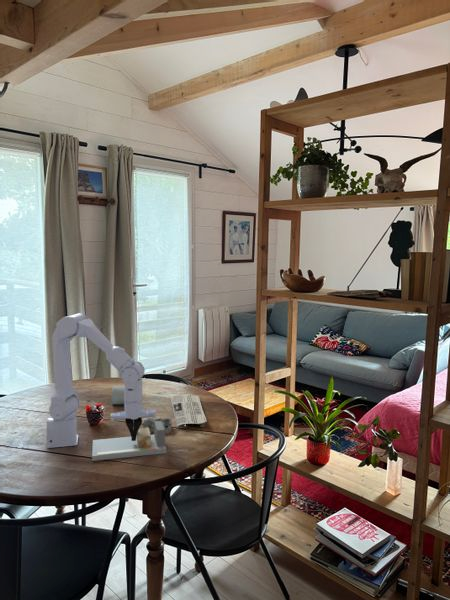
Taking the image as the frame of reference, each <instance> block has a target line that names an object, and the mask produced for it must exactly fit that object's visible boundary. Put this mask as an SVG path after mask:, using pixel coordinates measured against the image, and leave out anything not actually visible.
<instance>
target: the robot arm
mask: <svg viewBox="0 0 450 600" xmlns="http://www.w3.org/2000/svg"><path fill="white" fill-rule="evenodd" d="M93 321H94V320H92V319H91V318H89V317H88V315H86V313H83V312H78V313H77V312H76V313H75V314H71V315H68V316H63V317H61V318H60V319H59V320H58V321H57V322H56V323H55V324H56V327H55V329H54V332H53V334H52V336H51V345H52V346H51V347H52V348H51V349H52V359H53V374H54V392H53V393H52V396H51V398H50V406H49V407H48V414H49V415H50V416H51V417H48V418H47V420H46V449H53V448H65V447H72V446H73V447H75V446H78V442H79V434H77V410H78V409H79V407H80V405H81V403H80V398H79V397H78V394H77V390H76V389H75V388H74V386H73V376H72V374H73V373H72V360H71V359H72V358H71V344H70V342H71V341H72V340H73V339H74V338H75V337H77V338H87V339H89V340H90V341H91V342H92V343H93V344H94V345H95V346H96V347H98V348H99V349H100V350H102V352H103V353H104V354H105V358H106V360H107V361H108V363H110V364H111V366H113V367H114V368H115V369H116V370H117V371H118V372H119V373H120V377H121V380H122V381H123V382H124V386H123V387H124V399H125V404H124V411H120V412H119V411H118V412H112V413H110V422H115V421H120V420H121V421H124V420H125V425H126V426H127V429H128V431H129V433H130V437H131V440H132V441H136V436H137V432H138V430H139V428H141V425H142V424H143V419H147V418H153V419H156V418H157V411H156V410H155V409H154V410H153V409H152V410H151V409H150V410H148V409H143V376H144V374H145V366H144V365H143V364H142V363H141V362H140V361H136V359H134V358H132V357H131V356H130V355H128V353H127V352H126V349H125V348H124V347H120V346H118V345H117V346H116V345H115V346H114V345H113V343H112V342H110V340H109V339H108V338H107V336H105V335H104V334H103V332H101V330H99V328H98V327H97V326H96V325H95V323H94V322H93Z"/></svg>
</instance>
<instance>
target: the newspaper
mask: <svg viewBox="0 0 450 600" xmlns="http://www.w3.org/2000/svg"><path fill="white" fill-rule="evenodd" d="M169 399H170V402H171V407H173V408H172V411H173V416H174V420H175V425H176V428H177V430H178V429H185V428H188V424H189V425H190V424H192V425H194V424H196V425H199V427H200V428H204V427H205V426H206V422H208V420H207V417H206V415H205V413H204V410H203V407H202V403H201V399H200V396H199V395H194V394H192V393H190V394H189V393H188V394H187V393H184V394H183V393H182V394H174V395H171V396H170V397H169ZM185 424H187V425H186V426H184V425H185Z"/></svg>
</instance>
